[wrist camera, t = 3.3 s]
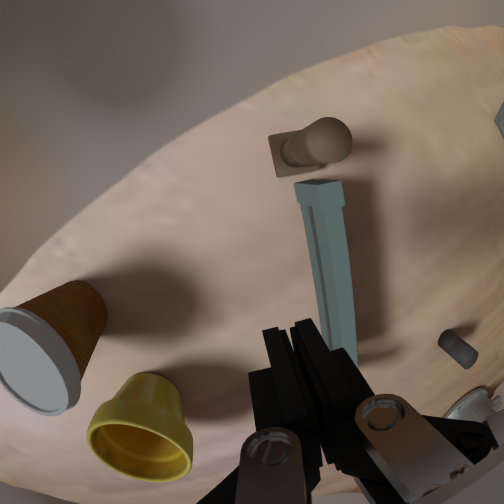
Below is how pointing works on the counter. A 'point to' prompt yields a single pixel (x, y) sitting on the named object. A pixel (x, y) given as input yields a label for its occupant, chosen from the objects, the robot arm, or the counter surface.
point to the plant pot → (143, 431)
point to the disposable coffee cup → (50, 346)
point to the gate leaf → (329, 261)
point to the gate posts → (331, 151)
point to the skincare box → (500, 120)
